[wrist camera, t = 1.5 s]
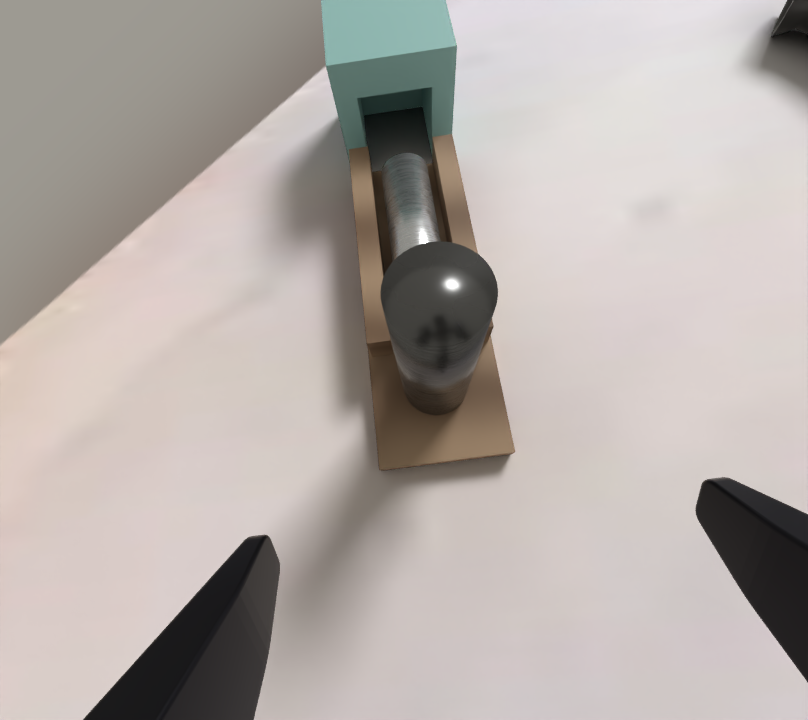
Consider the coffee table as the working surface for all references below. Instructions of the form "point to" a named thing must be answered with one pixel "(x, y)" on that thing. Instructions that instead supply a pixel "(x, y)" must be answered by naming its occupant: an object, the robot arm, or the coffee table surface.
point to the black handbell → (793, 17)
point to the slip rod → (431, 294)
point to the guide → (394, 415)
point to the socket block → (389, 62)
